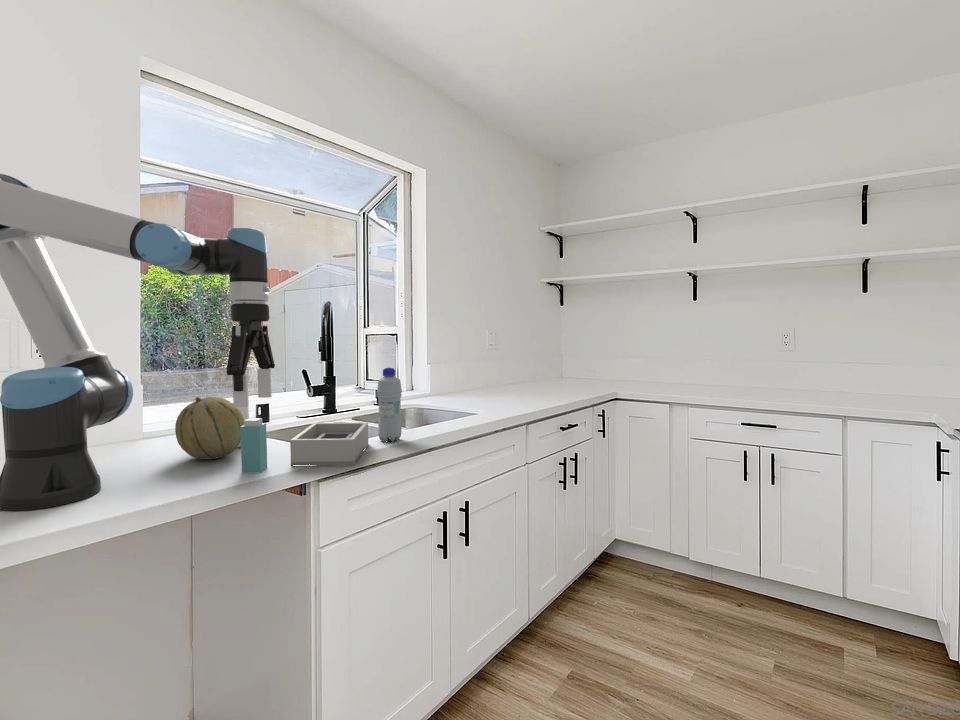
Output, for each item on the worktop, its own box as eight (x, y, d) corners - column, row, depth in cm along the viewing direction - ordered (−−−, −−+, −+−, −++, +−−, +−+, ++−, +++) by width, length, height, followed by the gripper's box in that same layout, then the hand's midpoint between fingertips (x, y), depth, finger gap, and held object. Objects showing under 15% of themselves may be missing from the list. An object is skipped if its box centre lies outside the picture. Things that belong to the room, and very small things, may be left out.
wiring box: (354, 465, 118) (353, 439, 117) (290, 466, 117) (290, 440, 117) (368, 445, 138) (368, 422, 137) (314, 445, 137) (313, 423, 136)
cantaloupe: (259, 453, 129) (257, 393, 128) (210, 469, 115) (207, 401, 114) (213, 448, 134) (211, 390, 133) (160, 463, 120) (158, 398, 119)
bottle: (372, 441, 141) (371, 368, 140) (385, 436, 148) (384, 366, 146) (395, 443, 139) (394, 368, 138) (406, 438, 145) (405, 366, 144)
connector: (260, 472, 112) (259, 421, 111) (241, 473, 112) (240, 421, 111) (267, 467, 116) (265, 417, 115) (248, 467, 116) (247, 417, 115)
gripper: (244, 300, 99) (249, 411, 101) (286, 304, 124) (289, 393, 126) (204, 300, 99) (209, 411, 100) (253, 305, 124) (257, 394, 125)
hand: (253, 402), depth 113 cm, fingers open, 13 cm apart
